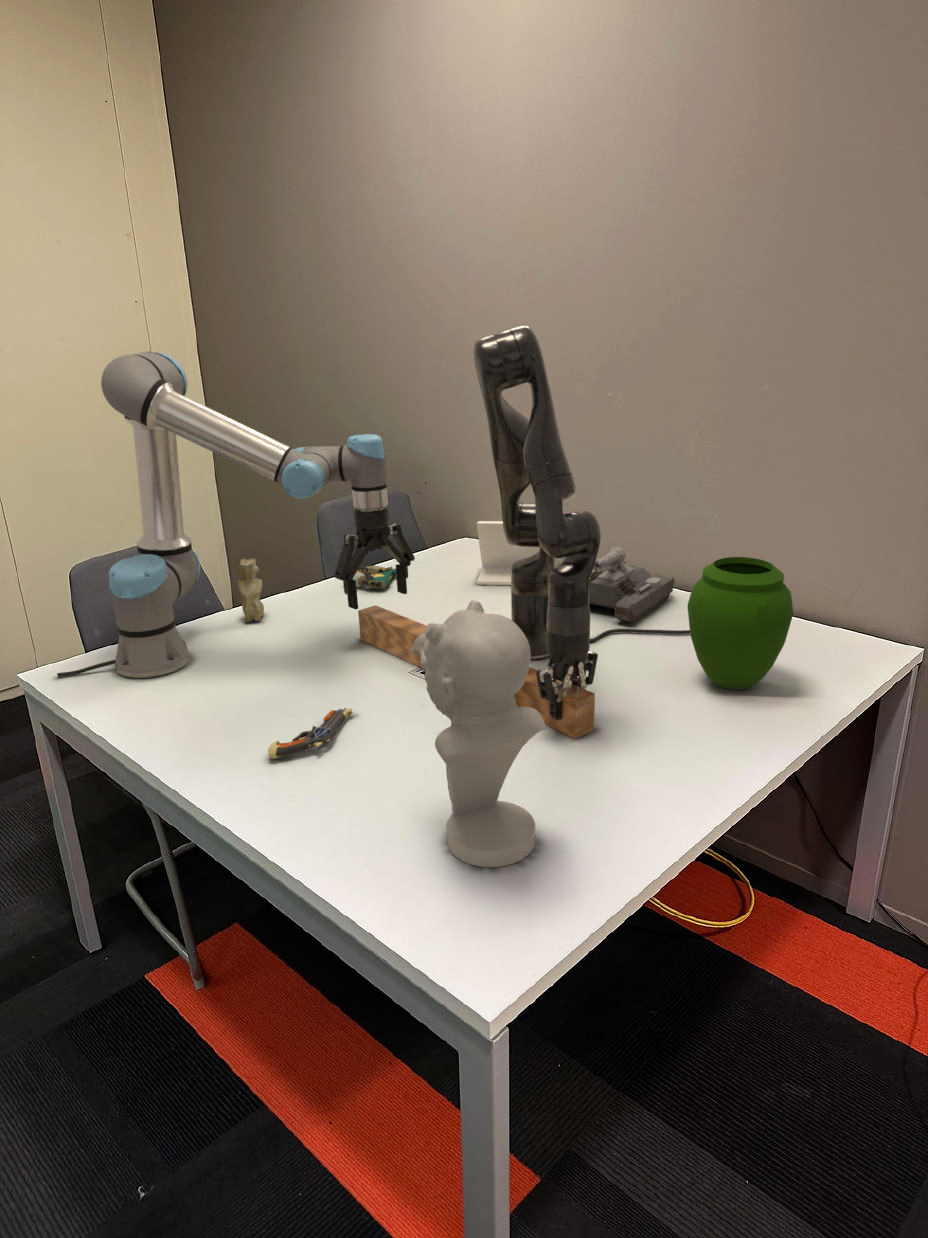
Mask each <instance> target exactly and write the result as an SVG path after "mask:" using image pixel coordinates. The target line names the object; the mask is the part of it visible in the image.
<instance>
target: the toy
mask: <svg viewBox="0 0 928 1238" xmlns="http://www.w3.org/2000/svg"><path fill="white" fill-rule="evenodd" d="M626 557H627V556H626V551H625V549H624V548H622V547H621V546H614V547H612V548H611V549H610V550H609V552H608V553H607V554H605V555H604V556H601V557H599V558H598V559H597V558H596V560H595V564H594V568H593V571H592V574H591V577H590V588H589V605H592V606H598V607H602V608H603V607H604V608H609V609H613V610H614V618H615V619H617V620H618V621H621V622H626V623H631V624H634V623H635V622H637V621H638V620H640V619H641V618H642V617H644V616H645V615H647V614H648V613H650V612H651V611H652V610H654V609H655V608H657V607H659V606H660V605H661V604H663V603H664V602H666V601H667V600H669V598H670V596H671V594H672V593H673V591H674V585H675V580H676V579H675V578H673V577H668V576H663V575H656V576H655V577H654V576H651V574H650V573H649V572H648V571H647V570H646V568H644V567H641V566H635V565H629V564H628V563H627V562H626V561H625V559H626Z"/></svg>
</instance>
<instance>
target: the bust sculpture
mask: <svg viewBox="0 0 928 1238" xmlns="http://www.w3.org/2000/svg"><path fill="white" fill-rule="evenodd" d="M411 653H412V654H421V667H422V668H421V667H420V668H421V669H422V670H423V672H424V681H425V682H426V690H427V693H428V696H429V698H430V701H431V702H432V704H434V706H435V708H436V710H438V711H439V712H440V713H441V714H442V716H446V717H447V718H448V719H449V720H450V726H448V727H446V728H445V729H443V730H442V731H441V732H440V733H439V734H438V735H436V738H435V741H434V748H435V749H436V752H437V753H438V755H439V757H440V758H441V760H442V761H443V762H444V763H445V771H446V781H447V790H448V796H449V800H450V803H451V810H452V813H451V814H450V815H449V817H448V819H447V822H446V844H447V847H448V849H449V851H450V852H451V854H452V855H453V856H454V857H456V858H457V859H459V860H460V861H462V862H463V863H466V864H469V865H471V866H476V867H483V868H498V867H505V866H509V865H512V864H517V862H520V861H521V860H523V859H525V858H527V856H528V855H530V854H531V852H532V851H533V849H535V848H534V847H535V845H536V822H535V821H536V820H535V819H534V817H533V816H532V814H531V813H530V812H529V811H528V810H526V809H525V808H524V807H522V806H520V805H517V804H515V803H513V802H509V801H504V800H499V796H500V793H501V790H502V788H503V785H504V783H505V780H506V778H507V776H508V773H509V771H510V769H511V768H512V765H513V763H514V761H515V760H516V759H517V756H518V755H519V753H520V752H521V750H522V749H523V748H524V747H525V745H526V744H527V743H528V742H529V741H530V740H531V739H532V738H533V737H535V735H537V734H538V733H539V732H541V731H544V730H545V729H546V728H547V725H545V722H544V720H543V718H542V716H541V715H540V713H539V712H538V711H537V710H536V709H533V708H530V707H518V706H517V705H516V698H515V697H514V695H515V694H516V693H517V692H518V691H519V690H520V689H521V688H522V686H523V685H524V683H525V680H526V678H527V675H528V671H529V667H530V666H531V659H530V656H531V655H530V653H531V652H530V646H529V643H528V640H527V638H526V636H525V634H524V633H523V632H522V630H521V629H520V628H519V627H518V626H517V625H516V624H515V623H514V622H513V621H512V620H511V618H508V617H507V616H504V615H503V614H502V615H501V614H496V613H485V609H484V607H483V605H482V603H481V602H480V601H478V600H473V599H472V600H470V601H469V603H468V605H467V607H466V609H460V610H457V611H455V612H453V613H451V615H449V616H448V617H447V618H446V619H445V620H444V622H442V624H441V623H435V622H430V623H428V624H427V625H426V628H425V633H423V634H421V635H419V636H418V637H417V639H416V640H415V642H414V645H413V647H412V649H411Z"/></svg>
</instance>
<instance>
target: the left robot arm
mask: <svg viewBox="0 0 928 1238" xmlns="http://www.w3.org/2000/svg"><path fill="white" fill-rule="evenodd" d="M100 385H101V393H102V395H103V396H104V398H105V400H106V401H107V403H108V404H109V405H110V406H111V408H113V409H114V410H115V411H116V412H118V413H119V414H121V415H123V416H124V420H125V421H126V422H127V423H128V424H130V425H131V427H132V431H133V432H132V433H133V442H134V451H135V462H136V473H137V483H138V493H139V504H140V514H141V524H142V536H141V537H140V539H138V540H137V542H136V548H137V554H135V555H133V556H129V557H127V558H122V559H120V560H118V561H117V562H115V563H114V564H113V565H112V566H111V567H110V569H109V571H108V578H109V581H108V587H109V592H110V595H111V600H112V604H113V610H114V616H115V619H116V620H115V621H116V625H117V631H118V643H117V648H116V653H115V659H112V660H108V661H107V660H106V661H104V662H101V663H97V664H93V665H90V666H86V667H84V668H81V669H76V670H70V671H62V672H57V673H56V676H57V678H62V677H69V676H74V675H75V676H76V675H81V674H84V673H87V672H90V671H93V670H96V669H100V668H104V667H107V666H108V667H109V666H111V665H114V666H115V670H116V673H117V674H118V675H120V676H122V677H125V678H129V679H149V678H157V677H161V676H165V675H169V674H172V673H175V672H177V671H179V670H181V669H182V668H184V667H185V666H187V665H188V664H189V662H190V653H189V649H188V646H187V643H186V642H185V641H184V640H183V638H182V636H181V634H180V632H179V630H178V629H177V625H176V620H175V619H176V618H175V613H174V607H173V605H174V604H175V603H176V602H177V601H178V600H179V599H181V598H182V597H183V596H184V595H187V593H189V592H190V591H191V590H192V589H193V588H194V587H195V584H196V583H197V582H198V580H199V578H200V575H201V562H200V558H199V556H198V554H197V553H196V552H195V551H194V550H193V546H192V539H191V538H190V537H189V536H188V535H186V534H185V532H184V531H185V530H184V518H183V506H182V493H181V492H182V491H181V480H180V467H179V455H178V442H177V436H178V437H181V438H182V439H185V440H187V441H189V442H191V443H193V444H196V445H197V446H199V447H201V448H203V449H206V450H208V451H210V452H212V453H214V454H216V455H218V456H220V457H223V458H225V459H227V460H229V461H231V462H233V463H235V464H237V465H240V466H241V467H243V468H245V469H248V470H249V471H250V470H251V471H252V472H254V473H256V474H258V475H260V476H262V477H265V478H266V479H269V480H271V481H273V482H275V483H277V484H279V485H281V486H282V487H283V489H284V491H285V492H286V493H287V494H288V495H289V496H291V497H292V498H294V499H298V500H306V499H309V498H311V497H313V496H316V495H317V494H318V493H320V492H321V490H322V489H323V488H324V487H325V486H326V485H327V484H328V483H334V482H335V483H337V482H338V483H339V482H350V485H351V494H352V506H353V508H354V510H353V519H354V526H355V528H356V531H355V534H349V533H345V534H343V545H342V549H341V552H340V556H339V559H338V562H337V565H336V569H335V572H334V574H333V575H334V578H335V579H336V580H339V581H342V582H343V592H344V595H347V604H348V605H347V606H348V608H351V609H353V610H359V601H358V589H357V587H356V580H353V577H354V575H355V574H356V572H357V571H358V568H359V567H361V565H362V563H363V561H364V559H365V556H366V555H368V554H369V552H373V551H376V550H382V549H385V550H386V551H387V553H388V554H389V555H390V556H391V557H392V558H393V559H394V560H395V561H396V562H397V564H395V569H396V576H395V577H396V590H397V591H396V592H397V593H399V594H403V595H407V594H408V586H407V583H408V582H407V579H408V578H409V567H410V566H411V565H412V562H414V561H415V559H416V558H415V555H414V552H412V551H413V550H411V548H410V546H409V544H408V541H407V540H406V538H405V536H404V535H403V532H402V531H403V530H402V526H401V524H399V523H395V522H391V523H390V514H389V513H390V512H389V508H388V507H387V506H388V505H389V498H388V497H389V496H388V487H387V486H388V485H387V474H386V473H387V472H386V471H387V469H386V455H385V450H384V443H383V442H384V441H383V438H382V437H381V436H380V435H378V434H374V433H373V434H372V433H362V434H354V435H351V436H349V437H348V438H347V443H346V444H345V445H328V446H313V445H308V446H302V447H295V448H293V447H291V446H289V445H287V444H285V443H283V442H281V441H279V440H277V439H274V438H272V437H270V436H268V435H266V434H264V433H262V432H260V431H258V430H256V429H254V428H252V427H249V426H248V425H246V424H243V423H241V422H239V421H237V420H235V419H233V418H231V417H229V416H228V415H225V414H223V413H220V412H219V411H217V410H215V409H212V408H211V407H208V406H207V405H205V404H202V403H200V402H198V401H196V400H194V399H192V398H189V397H187V396H186V394H187V391H188V378H187V375H186V372H185V370H184V368H183V367H182V365H181V363H179V362H178V361H177V359H175V358H173V356H170V355H169V354H167V353H164V352H159V351H151V350H150V351H142V352H137V353H133V354H124V355H120V356H117V357H116V358H114V359H112V360H111V361H109V363H107V364H106V366H105V367H104V369H103V371H102V375H101V380H100ZM390 534H391V536H392V538H393V540H394V541H395V543H396V545H397V547H398V548H397V547H396V546H395V545H394V543H393V542H392V541H391V540H390V539H389V537H390ZM398 549H399V550H398Z"/></svg>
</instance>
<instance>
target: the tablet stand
mask: <svg viewBox="0 0 928 1238" xmlns="http://www.w3.org/2000/svg"><path fill="white" fill-rule="evenodd" d="M476 531H477V537H478V544H479V551H480V557H481V558H480V559H481V570H480V573H479V575H478V577H477V580H476V581H477V582H476V584H478V585H484V586H485V585H486V586H487V585H489V586H490V585H491V586H511V567H512V565H513V563H515V562H516V561H518V560H521V559H524V558H527V557H530V556H532V555H534V554H536V553H537V552H539V547H520V546H513V545H510V544H509V543H508V542H507V541H506V538H505V535H504V530H503V520H477V522H476ZM564 559H565V557H563V558H554V568H556V567H557V566H559V565H560V564H562V562H563V561H564Z"/></svg>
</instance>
